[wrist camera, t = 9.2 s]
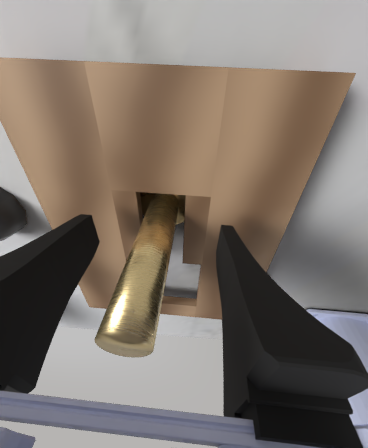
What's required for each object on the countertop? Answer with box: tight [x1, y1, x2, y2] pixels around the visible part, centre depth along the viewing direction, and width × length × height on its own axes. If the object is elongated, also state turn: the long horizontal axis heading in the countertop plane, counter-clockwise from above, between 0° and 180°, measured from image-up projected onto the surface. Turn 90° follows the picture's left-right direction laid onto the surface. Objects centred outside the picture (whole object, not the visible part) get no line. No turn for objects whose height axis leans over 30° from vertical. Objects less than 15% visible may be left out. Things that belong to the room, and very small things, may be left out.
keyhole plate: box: [0, 58, 356, 319], centre depth 15 cm, size 16×20×2 cm
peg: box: [95, 192, 186, 357], centre depth 11 cm, size 4×4×10 cm
